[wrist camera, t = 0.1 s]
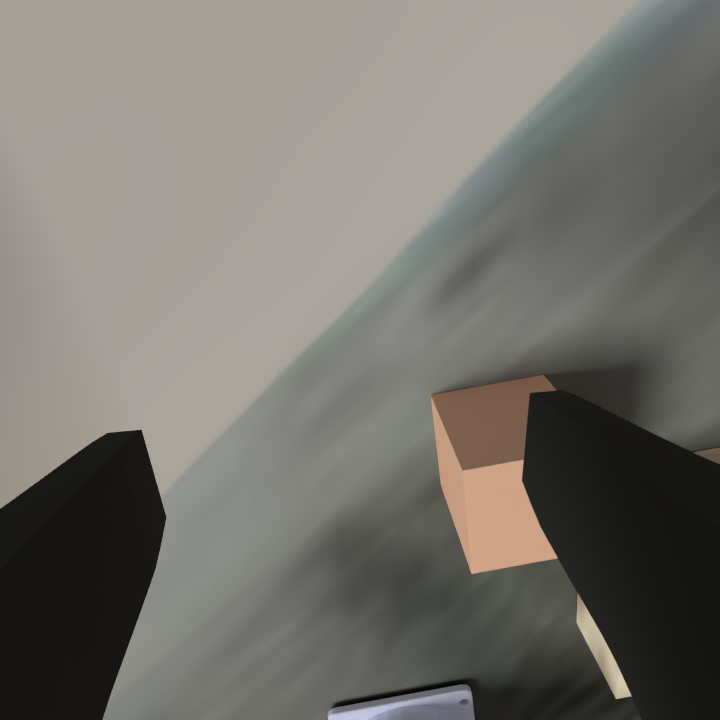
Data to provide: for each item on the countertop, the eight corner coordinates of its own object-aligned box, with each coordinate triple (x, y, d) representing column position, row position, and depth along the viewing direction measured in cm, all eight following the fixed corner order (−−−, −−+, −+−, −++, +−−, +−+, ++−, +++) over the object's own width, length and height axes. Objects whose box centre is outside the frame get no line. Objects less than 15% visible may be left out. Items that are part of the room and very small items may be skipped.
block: (543, 465, 23) (598, 550, 19) (440, 483, 23) (471, 573, 19) (542, 373, 21) (604, 445, 17) (430, 394, 21) (462, 471, 17)
